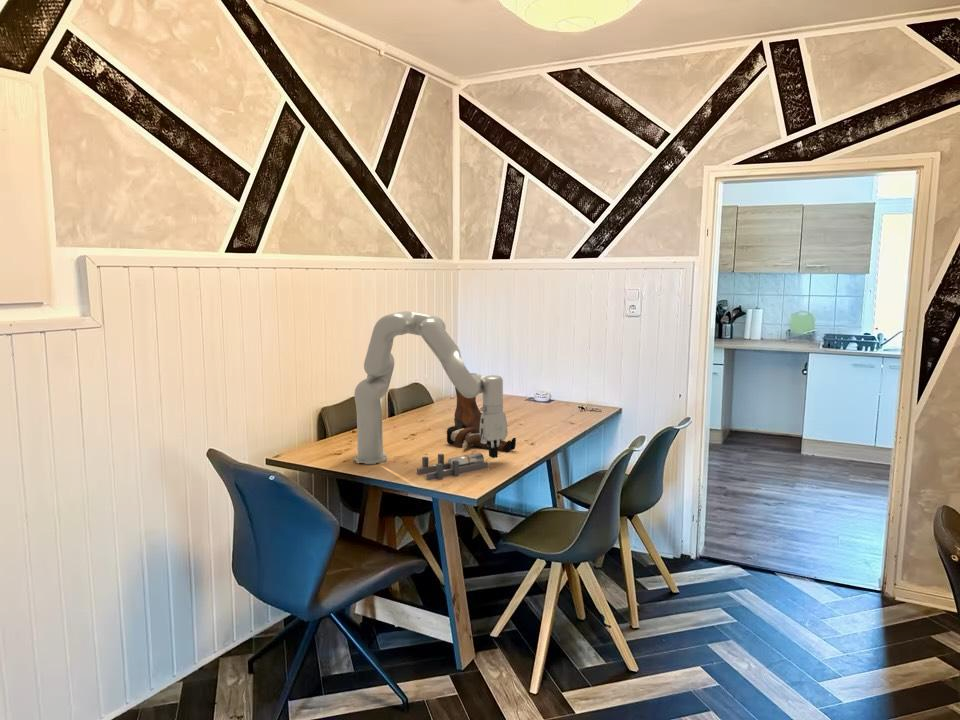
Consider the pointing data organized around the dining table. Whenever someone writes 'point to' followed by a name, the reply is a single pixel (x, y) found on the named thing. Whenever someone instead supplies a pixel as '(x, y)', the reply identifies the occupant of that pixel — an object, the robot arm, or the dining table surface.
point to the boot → (467, 413)
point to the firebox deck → (447, 469)
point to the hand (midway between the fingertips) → (493, 456)
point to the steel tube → (467, 460)
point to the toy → (474, 439)
